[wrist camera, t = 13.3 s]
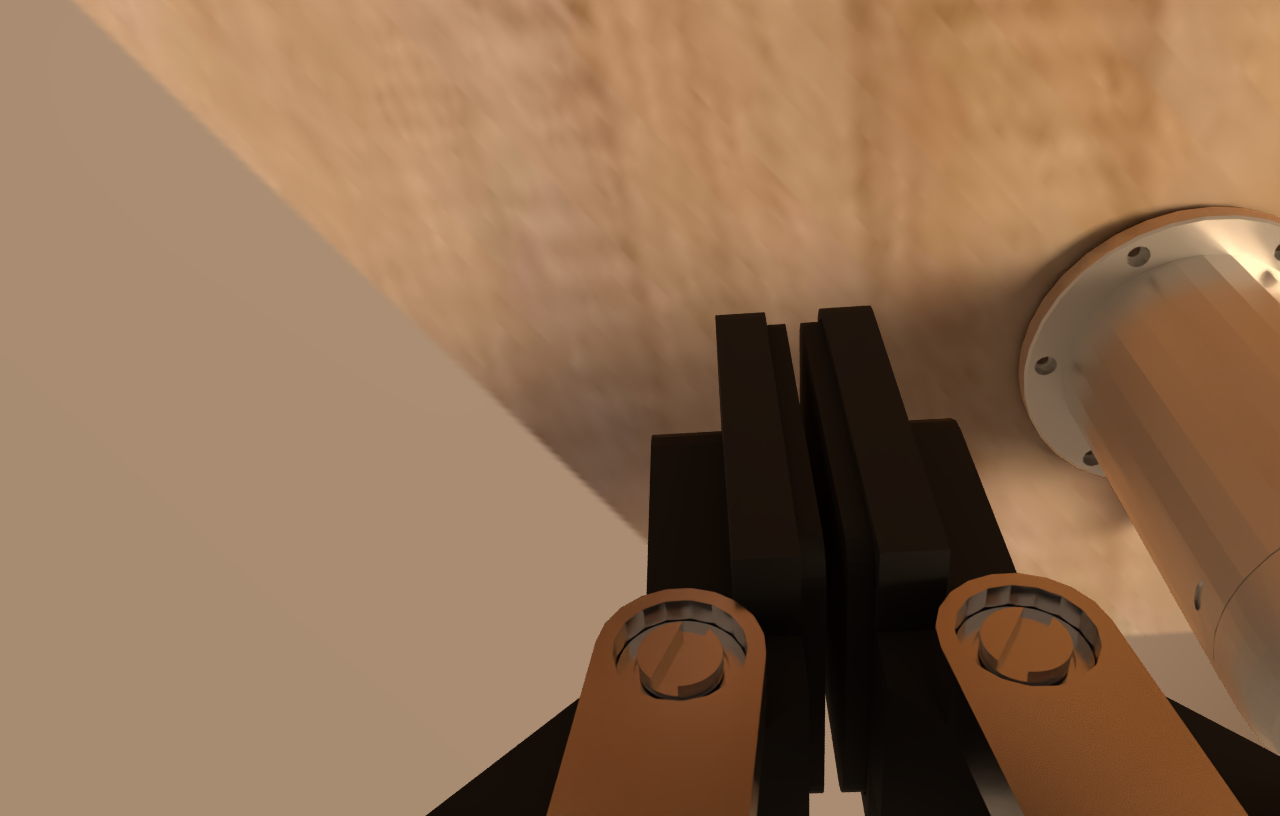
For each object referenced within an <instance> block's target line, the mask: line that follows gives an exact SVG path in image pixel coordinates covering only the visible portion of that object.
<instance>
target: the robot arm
mask: <svg viewBox="0 0 1280 816" xmlns="http://www.w3.org/2000/svg"><path fill="white" fill-rule="evenodd" d="M1134 248H1135V249H1134ZM1132 249H1133V250H1132ZM1131 250H1132V251H1131ZM715 320H716V339H717V357H718V376H719V394H720V412H721V430H722V431H716V432H699V433H681V434H663V435H652V440H651V466H650V499H649V532H648V566H647V567H648V568H647V595H644V596H641V597H639V598H638V599H636V600H634V601H632V602H630V603H629V604H627V605H625V606H623V607H621V608H620V609H619V610H618V611H617V612H616V613H615V614H614V615H613V616H612V617H611V618H610V619H609V620H608V621H607V622H606V623H605V624H604V627H603V628H602V630H601V632H600V635H599V636H598V638H597V640H596V643H595V646H594V650H593V653H592V657H591V660H590V664H589V667H588V671H587V674H586V678H585V682H584V685H583V688H582V692H581V696H580V698H579V699H577V700H576V701H575V702H573V703H572V704H571V705H569V706H568V707H567V708H565V709H564V710H563V711H562V712H560V713H559V714H558V715H556V716H555V717H554V718H553V719H551V720H550V721H548V722H547V723H546V724H545V725H543V726H542V727H541V728H539V729H538V730H537V731H536V732H534V733H533V734H532V735H530V736H529V737H528V738H526V739H525V740H524V741H522V742H521V743H520V744H518V745H517V746H516V747H515V748H513V749H512V750H511V751H509V752H508V753H507V754H505V755H504V756H503V757H502V758H500V759H499V760H498V761H496V762H495V763H494V764H492V765H491V766H490V767H489V768H487V769H486V770H485V771H483V772H482V773H481V774H479V775H478V776H477V777H475V778H474V779H473V780H472V781H470V782H469V783H468V784H466V785H465V786H464V787H462V788H461V789H460V790H459V791H457V792H456V793H455V794H453V795H452V796H451V797H449V798H448V799H447V800H446V801H444V802H443V803H442V804H440V805H439V806H438V807H437V808H435V809H434V810H432V811H431V812H430V813H429V814H427V815H426V816H809V793H823V792H824V754H825V748H824V747H825V695H826V701H827V708H828V714H829V721H830V728H831V734H832V741H833V748H834V753H835V761H836V767H837V774H838V780H839V786H840V790H841V791H842V792H861V795H862V801H863V806H864V813H865V816H1280V219H1279V218H1277V217H1275V216H1273V215H1270V214H1266V213H1262V212H1258V211H1254V210H1250V209H1246V208H1233V207H1205V208H1197V209H1189V210H1181V211H1177V212H1173V213H1170V214H1166V215H1163V216H1160V217H1156V218H1153V219H1149V220H1146V221H1144V222H1142V223H1140V224H1137V225H1135V226H1133V227H1131V228H1129V229H1127V230H1124V231H1122V232H1120V233H1118V234H1116V235H1114V236H1113V237H1111V238H1110V239H1108V240H1107V241H1105V242H1103V243H1102V244H1100V245H1099V246H1097V247H1096V248H1094V249H1093V250H1091V251H1090V252H1088V253H1087V254H1086V255H1085V256H1083V257H1082V258H1081V259H1080V260H1079V261H1078V262H1077V263H1076V264H1074V265H1073V266H1072V267H1071V268H1070V269H1069V270H1068V271H1067V272H1066V273H1064V274H1063V275H1062V277H1061V278H1060V279H1059V280H1058V281H1057V283H1056V284H1055V285H1054V286H1053V288H1052V289H1051V290H1050V291H1049V293H1048V294H1047V295H1046V296H1045V297H1044V299H1043V300H1042V302H1041V304H1040V306H1039V308H1038V309H1037V311H1036V313H1035V315H1034V316H1033V318H1032V320H1031V322H1030V324H1029V326H1028V329H1027V332H1026V335H1025V338H1024V341H1023V344H1022V347H1021V353H1020V362H1019V371H1018V376H1019V384H1020V392H1021V398H1022V400H1023V403H1024V405H1025V408H1026V410H1027V413H1028V415H1029V418H1030V420H1031V421H1032V423H1033V425H1034V427H1035V428H1036V430H1037V432H1038V434H1039V436H1040V437H1041V438H1042V440H1043V441H1044V442H1045V443H1046V444H1047V445H1048V446H1049V447H1050V448H1051V449H1052V450H1053V451H1054V452H1055V454H1057V455H1058V456H1060V457H1061V458H1063V459H1064V460H1066V461H1067V462H1069V463H1070V464H1072V465H1073V466H1075V467H1077V468H1079V469H1082V470H1084V471H1087V472H1089V473H1091V474H1094V475H1096V476H1100V477H1105V478H1107V479H1108V481H1109V483H1110V484H1111V486H1112V488H1113V490H1114V491H1115V493H1116V495H1117V497H1118V499H1119V500H1120V502H1121V504H1122V506H1123V507H1124V509H1125V511H1126V513H1127V515H1128V516H1129V518H1130V520H1131V522H1132V524H1133V525H1134V527H1135V529H1136V531H1137V532H1138V534H1139V536H1140V538H1141V540H1142V541H1143V543H1144V545H1145V547H1146V549H1147V550H1148V552H1149V554H1150V556H1151V557H1152V559H1153V561H1154V563H1155V565H1156V566H1157V568H1158V570H1159V572H1160V573H1161V575H1162V577H1163V579H1164V581H1165V582H1166V584H1167V586H1168V588H1169V590H1170V591H1171V593H1172V595H1173V597H1174V598H1175V600H1176V602H1177V604H1178V606H1179V607H1180V609H1181V611H1182V613H1183V615H1184V616H1185V618H1186V620H1187V622H1188V623H1189V625H1190V627H1191V629H1192V631H1193V632H1194V634H1195V636H1196V638H1197V640H1198V641H1199V643H1200V645H1201V647H1202V648H1203V650H1204V652H1205V654H1206V655H1207V657H1208V659H1209V661H1210V663H1211V664H1212V666H1213V668H1214V670H1215V672H1216V673H1217V675H1218V677H1219V679H1220V680H1221V682H1222V683H1223V685H1224V687H1225V689H1226V690H1227V692H1228V694H1229V696H1230V697H1231V699H1232V701H1233V703H1234V704H1235V706H1236V708H1237V710H1238V711H1239V712H1240V714H1241V716H1242V717H1243V719H1244V720H1245V721H1246V723H1247V724H1248V726H1249V727H1250V729H1251V730H1252V731H1253V732H1254V733H1255V735H1256V736H1257V737H1258V738H1259V739H1260V740H1261V741H1262V742H1263V743H1264V744H1265V745H1266V747H1267V748H1268V749H1269V750H1270V751H1269V750H1267V749H1265V748H1263V747H1261V746H1259V745H1257V744H1256V743H1254V742H1252V741H1250V740H1248V739H1246V738H1244V737H1242V736H1240V735H1238V734H1236V733H1235V732H1232V731H1231V730H1229V729H1226V728H1225V727H1223V726H1221V725H1219V724H1217V723H1215V722H1213V721H1212V720H1210V719H1208V718H1206V717H1204V716H1202V715H1200V714H1198V713H1196V712H1194V711H1192V710H1190V709H1189V708H1187V707H1185V706H1183V705H1181V704H1179V703H1177V702H1175V701H1173V700H1171V699H1169V698H1167V697H1166V696H1165V695H1164V694H1163V692H1162V691H1161V690H1160V688H1159V687H1158V686H1157V684H1156V682H1155V681H1154V679H1153V678H1152V677H1151V675H1150V674H1149V673H1148V671H1147V670H1146V668H1145V667H1144V665H1143V664H1142V662H1141V661H1140V659H1139V658H1138V657H1137V655H1136V654H1135V652H1134V651H1133V649H1132V648H1131V646H1130V645H1129V644H1128V642H1127V641H1126V639H1125V638H1124V636H1123V635H1122V634H1121V632H1120V631H1119V629H1118V628H1117V626H1116V625H1115V623H1114V622H1113V621H1112V619H1111V618H1110V617H1109V616H1108V615H1107V614H1106V613H1105V612H1104V611H1103V610H1102V609H1101V608H1100V607H1099V606H1098V605H1097V603H1096V602H1094V601H1093V600H1091V599H1090V598H1088V597H1087V596H1085V595H1083V594H1082V593H1080V592H1079V591H1077V590H1076V589H1074V588H1072V587H1070V586H1067V585H1064V584H1062V583H1059V582H1056V581H1054V580H1051V579H1048V578H1045V577H1039V576H1033V575H1027V574H1021V573H1017V572H1016V570H1015V567H1014V565H1013V562H1012V559H1011V557H1010V554H1009V552H1008V549H1007V547H1006V544H1005V542H1004V539H1003V536H1002V534H1001V531H1000V529H999V526H998V524H997V521H996V519H995V516H994V513H993V511H992V508H991V506H990V503H989V501H988V498H987V496H986V493H985V491H984V488H983V485H982V483H981V480H980V478H979V475H978V473H977V470H976V468H975V465H974V462H973V460H972V457H971V455H970V452H969V450H968V447H967V445H966V442H965V439H964V437H963V434H962V432H961V429H960V427H959V425H958V424H957V422H956V420H954V419H952V418H946V419H929V420H911V421H909V420H908V417H907V414H906V411H905V408H904V404H903V401H902V398H901V395H900V392H899V389H898V386H897V383H896V380H895V377H894V374H893V371H892V368H891V364H890V361H889V358H888V355H887V352H886V349H885V346H884V343H883V340H882V337H881V334H880V331H879V328H878V324H877V321H876V318H875V315H874V312H873V309H872V307H871V306H855V307H839V308H823V309H819V312H818V322H809V323H801V324H800V404H799V398H798V392H797V387H796V381H795V376H794V370H793V364H792V359H791V353H790V347H789V342H788V336H787V331H786V326H785V324H778V325H767V323H766V317H765V313H764V312H761V313H745V314H730V315H715Z"/></svg>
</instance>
